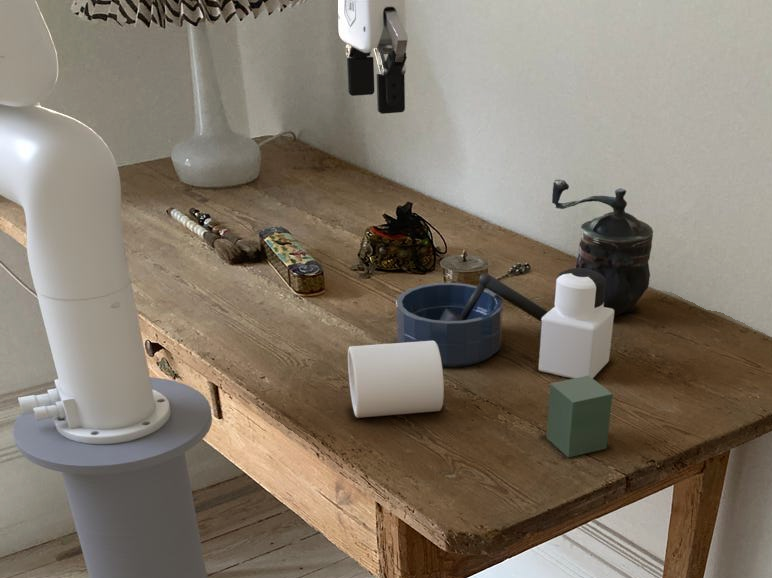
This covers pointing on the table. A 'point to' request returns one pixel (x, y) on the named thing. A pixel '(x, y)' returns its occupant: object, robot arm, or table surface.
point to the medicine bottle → (576, 326)
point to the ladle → (500, 290)
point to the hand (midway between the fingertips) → (376, 103)
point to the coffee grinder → (614, 249)
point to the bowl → (453, 338)
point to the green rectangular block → (578, 416)
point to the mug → (395, 378)
